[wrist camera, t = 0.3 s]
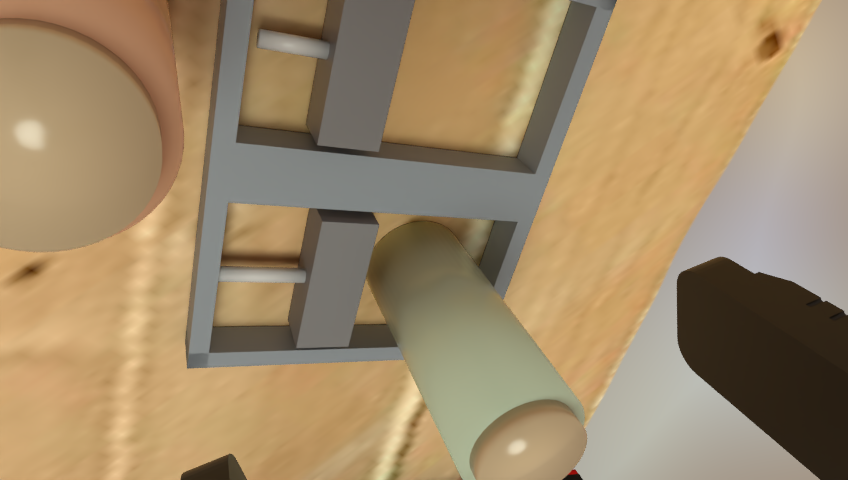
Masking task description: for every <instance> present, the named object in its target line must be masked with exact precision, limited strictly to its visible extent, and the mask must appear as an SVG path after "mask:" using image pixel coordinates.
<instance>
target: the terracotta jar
mask: <svg viewBox="0 0 848 480" xmlns="http://www.w3.org/2000/svg"><path fill="white" fill-rule="evenodd" d="M183 149H184V130H183V121H182V113H181V104H180V96H179V88H178V79H177V71H176V62H175V54H174V46H173V37H172V29H171V20H170V12H169V4H168V0H0V247H1V248H6V249H12V250H18V251H28V252H57V251H66V250H72V249H77V248H81V247H85V246H88V245H91V244H94V243H97V242H100V241H102V240H104V239H106V238H109V237H112V236H114V235H116V234H119V233H121V232H123V231H125V230H127V229H129V228H130V227H132V226H133V225H135V224H137V223H138V222H140V221H141V220H142V219H144V218H145V217H146V216H147V215H148V214H150V213H151V212H152V211H153V210H154V209H155V208H156V207H157V206H158V205H159V204H160V203H161V201H162V200H163V199H164V197H165V196H166V194H167V193H168V192H169V190H170V189H171V187H172V185H173V183H174V181H175V179H176V177H177V174H178V171H179V168H180V165H181V161H182V155H183Z"/></svg>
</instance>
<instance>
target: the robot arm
mask: <svg viewBox="0 0 848 480" xmlns="http://www.w3.org/2000/svg"><path fill="white" fill-rule="evenodd" d="M677 334H678V335H677V337H678V344H679V348H680V351H681V353H682V355H683V357H684V359H685V361H686V362H687V364H688V365H689V366H690V368H691V369H692V370H693V371H694V372H695V373H696V374H697V375H698V376H700V377H701V378H702V379H703V380H704V381H705V382H707V383H708V384H709V385H710V386H711V387H712V388H714V389H715V390H716V391H717V392H718V393H720V394H721V395H722V396H723V397H724V398H725V399H727V400H728V401H729V402H730V403H731V404H732V405H734V406H735V407H736V408H737V409H738V410H739V411H741V412H742V413H743V414H744V415H745V416H746V417H748V418H749V419H750V420H751V421H752V422H754V423H755V424H756V425H757V426H758V427H759V428H760V429H762V430H763V431H764V432H765V433H766V434H768V435H769V436H770V437H771V438H772V439H774V440H775V441H776V442H777V443H778V444H779V445H780V446H782V447H783V448H784V449H785V450H786V451H787V452H789V453H790V454H791V455H792V456H793V457H795V458H796V459H797V460H798V461H799V462H800V463H802V464H803V465H804V466H805V467H806V468H807V469H809V470H810V471H811V472H812V473H813V474H815V475H816V476H817V477H818V478H819V479H820V480H848V315H846V314H845V313H844V311H843V310H842V309H840V308H838V307H836V306H834V305H833V304H831V303H829V302H827V301H825V302H823V301H822V300H821V298H820V297H819V296H817V295H815V294H813V293H812V292H810V291H808V290H806V289H805V288H803V287H801V286H799V285H798V284H796V283H794V282H792V281H788V280H784V279H781V278H777V277H774V276H770V275H767V274H764V273H760V272H758V273H756V274H754V273H752V272H750V271H749V270H747V269H745V268H744V267H742V266H740V265H739V264H737V263H735V262H734V261H732V260H730V259H728V258H725V257H717V258H715V259H712V260H710V261H707V262H705V263H702V264H700V265H697V266H695V267H692V268H690V269H687V270H685V271H683V272H681V273H680V274H679V276H678V279H677ZM181 480H247V479H246V477H245V475H244V473H243V471H242V469H241V467H240V465H239V464H238V462H237V460H236V458H235V457H234V456H233V455H232V454H228V455H226V456H223V457H221V458H218V459H216V460H213V461H211V462H208V463H206V464H204V465H201V466H199V467H196V468H194V469H191V470H189V471H186V472H184V473H183V474H182V476H181Z"/></svg>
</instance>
